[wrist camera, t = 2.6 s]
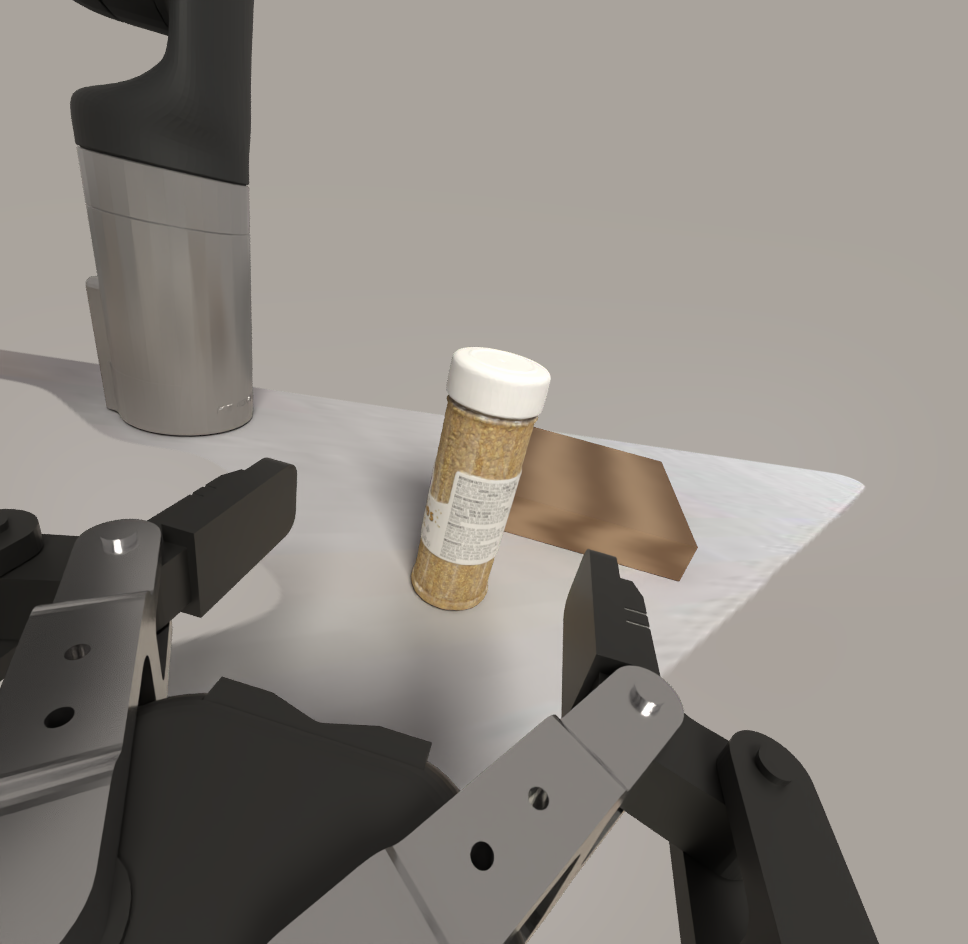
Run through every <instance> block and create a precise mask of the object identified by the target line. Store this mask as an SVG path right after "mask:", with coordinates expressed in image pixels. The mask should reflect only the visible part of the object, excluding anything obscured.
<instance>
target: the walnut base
mask: <svg viewBox="0 0 968 944" xmlns="http://www.w3.org/2000/svg"><path fill="white" fill-rule="evenodd" d="M504 531H505V532H509V533H512V534H516V535H519V536H523V537H526V538H530V539H533V540H537V541H540V542H544V543H547V544H551V545H554V546H558V547H561V548H565V549H568V550H572V551H575V552H579V553H582V554H584V553H585V552H586V550H587V549H590V550H594V551H597V552H601V553H605V554H608V555H612V556H615V557H616V558H617V562H618V564H620V565H624V566H627V567H631V568H634V569H638V570H641V571H645V572H648V573H652V574H655V575H659V576H662V577H666V578H669V579H673V580H676V581H680V579H681V577H682V575H683V574H684V572H685V570H686V568H687V566H688V564H689V562H690V561H691V559H692V557H693V555H694V553H695V551H696V550H697V548H698V547H697V545H696V542H695V540H694V538H693V535H692V533H691V530H690V528H689V526H688V523H687V521H686V519H685V516H684V514H683V512H682V509H681V507H680V505H679V502H678V500H677V497H676V495H675V493H674V490H673V488H672V486H671V483H670V481H669V479H668V476H667V474H666V471H665V469H664V467H663V464H662V462H660V461H657V460H653V459H649V458H646V457H642V456H638V455H635V454H631V453H627V452H624V451H620V450H616V449H613V448H609V447H605V446H602V445H598V444H594V443H591V442H587V441H583V440H580V439H576V438H572V437H569V436H565V435H561V434H558V433H554V432H550V431H547V430H543V429H539V428H536V427H533V431H532V434H531V437H530V440H529V443H528V447H527V450H526V454H525V458H524V461H523V464H522V472H521V476H520V479H519V482H518V486H517V489H516V493H515V496H514V499H513V503H512V506H511V509H510V513H509V516H508V519H507V523H506V526H505V529H504Z"/></svg>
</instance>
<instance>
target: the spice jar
mask: <svg viewBox="0 0 968 944" xmlns="http://www.w3.org/2000/svg"><path fill="white" fill-rule="evenodd" d="M550 381H551V378H550V374H549V372H548V371H547V370H546V369H545V368H544V367H542V366H541V365H539V364H538V363H536V362H534V361H532V360H530V359H528V358H525V357H522V356H519V355H516V354H513V353H510V352H505V351H501V350H496V349H490V348H482V347H468V348H462V349H459V350H457V351H456V352H455V353H454V354H453V357H452V361H451V365H450V370H449V375H448V380H447V387H446V388H447V389H446V390H447V392H448V394H449V395H448V396H447V401H448V404H447V409H446V412H445V419H444V423H443V429H442V433H441V438H440V443H439V447H438V453H437V457H436V460H435V463H434V467H433V473H432V478H431V483H430V488H429V493H428V498H427V503H426V508H425V513H424V518H423V523H422V528H421V540H420V544H419V550H418V556H417V559H416V564H415V565H414V567H413V570H412V575H411V580H412V584H413V587H414V589H415V591H416V593H417V594H418V595H419V596H420V597H421V598H422V599H423V600H424V601H426V602H427V603H429V604H431V605H433V606H436V607H438V608H441V609H446V610H465V609H469V608H473V607H474V606H476V605H477V604H479V603H480V602H481V601H482V600H483V599H484V597H485V595H486V593H487V589H488V577H489V574H490V571H491V568H492V564H493V561H494V557H495V555H496V554H497V552H498V549H499V546H500V542H501V539H502V536H503V532H504V529H505V526H506V523H507V519H508V516H509V513H510V509H511V506H512V503H513V499H514V496H515V493H516V489H517V486H518V482H519V479H520V476H521V472H522V464H523V461H524V458H525V454H526V450H527V447H528V443H529V440H530V437H531V434H532V431H533V426H534V423H535V422H536V421H537V419H538V415H539V414H540V413H541V412H542V409H543V406H544V403H545V400H546V396H547V392H548V389H549V384H550Z"/></svg>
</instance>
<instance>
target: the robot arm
mask: <svg viewBox="0 0 968 944" xmlns="http://www.w3.org/2000/svg"><path fill="white" fill-rule="evenodd" d="M74 1H75V2H77V3H79V4H80V5H82V6H84V7H86V8H88V9H90V10H92V11H94V12H96V13H98V14H101V15H104V16H106V17H109V18H112V19H115V20H117V21H121V22H125V23H127V24H130V25H133V26H137V27H140V28H144V29H147V30H150V31H154V32H157V33H160V34H164V35H167V36H168V42H167V48H166V52H165V55H164V57H163V59H162V60H161V61H160V62H159V63H158V64H157V65H156V66H154V67H153V68H152V69H150V70H149V71H147V72H145V73H144V74H142V75H140V76H138V77H135V78H133V79H130V80H127V81H123V82H118V83H112V84H106V85H96V86H90V87H84V88H81V89H79V90H77V91H75V92H74V93H73V95H72V97H71V102H70V109H71V119H72V125H73V130H74V136H75V143H76V144H77V145H79V146H80V147H77V153H78V159H79V165H80V171H81V178H82V184H83V190H84V196H85V202H86V207H87V213H88V220H89V226H90V232H91V239H92V245H93V251H94V257H95V263H96V270H97V276H92V277H89V278H88V279H87V280H86V290H87V295H88V301H89V307H90V313H91V319H92V324H93V331H94V336H95V342H96V348H97V353H98V359H99V365H100V371H101V377H102V382H103V388H104V394H105V400H106V405H107V408H109V409H112V410H115V411H117V412H118V413H119V414H120V416H121V418H122V419H123V420H124V421H125V422H127V423H128V424H130V425H132V426H134V427H136V428H139V429H143V430H146V431H150V432H155V433H161V434H170V435H206V434H214V433H220V432H225V431H228V430H232V429H235V428H237V427H240V426H242V425H244V424H245V423H247V422H248V421H249V420H250V419H251V417H252V414H253V392H252V324H251V266H250V214H249V213H250V212H249V187H248V186H246V185H248V184H249V149H250V133H251V56H252V55H251V54H252V32H253V7H254V0H74ZM296 488H297V470H296V467H295V466H294V465H292V464H288V463H285V462H281V461H278V460H274V459H271V458H263V459H261V460H260V461H258V462H257V463H255V464H254V465H252V466H251V467H249V468H247V469H246V470H242V469H241V470H238V471H234V472H231V473H228V474H224V475H221V476H220V477H218V478H216V479H214V480H213V481H211V482H209V483H208V484H206V486H205V487H201V488H200V489H198V490H196V491H195V492H193V494H192V495H188V496H187V497H185V498H183V499H182V500H180V501H178V502H177V503H175V504H174V505H172V506H170V507H169V508H167V509H165V510H164V511H162V512H161V513H159V514H157V515H156V516H154V517H152V518H151V519H149V520H147V521H145V520H139V519H121V520H115V521H109V522H106V523H102V524H99V525H96V526H94V527H92V528H90V529H88V530H86V531H85V532H83V533H82V534H81V535H80V536H66V535H50V534H41V530H40V526H39V522H38V519H37V517H36V516H35V515H33V514H32V513H30V512H26V511H23V510H15V509H0V681H1V680H3V679H4V680H3V682H2V685H1V687H0V944H526V943H527V942H528V941H529V940H530V938H531V937H532V936H533V934H534V933H535V932H536V930H537V929H538V928H539V926H540V925H541V924H542V922H543V921H544V920H545V918H546V917H547V916H548V914H549V913H550V912H551V910H552V909H553V907H554V906H555V904H556V903H557V902H558V900H559V899H560V898H561V896H562V895H563V893H564V892H565V890H566V889H567V887H568V886H569V884H570V883H571V882H572V880H573V879H574V878H575V876H576V875H577V874H578V872H579V871H580V870H581V868H582V867H583V866H584V864H585V863H586V862H587V861H588V859H589V858H590V857H591V855H592V854H593V853H594V851H595V850H596V849H597V847H598V846H599V845H600V843H601V842H602V841H603V839H604V838H605V837H606V835H607V834H608V833H609V831H610V830H611V829H612V827H613V826H614V825H615V824H616V822H617V821H618V820H619V818H620V817H621V816H622V815H623V813H624V812H625V811H626V812H627V813H628V814H630V815H631V816H633V817H634V818H636V819H637V820H639V821H640V822H642V823H643V824H644V825H646V826H647V827H649V828H650V829H652V830H653V831H655V832H656V833H658V834H659V835H660V836H662V837H663V838H665V839H666V840H668V841H669V844H670V854H671V862H672V870H673V879H674V887H675V895H676V904H677V913H678V921H679V930H680V938H681V944H879V943H878V941H877V938H876V935H875V933H874V930H873V928H872V925H871V923H870V921H869V918H868V916H867V914H866V911H865V908H864V906H863V904H862V901H861V899H860V896H859V894H858V891H857V889H856V887H855V884H854V882H853V879H852V877H851V874H850V872H849V870H848V867H847V865H846V862H845V860H844V858H843V855H842V853H841V850H840V848H839V845H838V843H837V840H836V838H835V835H834V833H833V831H832V828H831V826H830V824H829V821H828V819H827V816H826V814H825V811H824V809H823V806H822V804H821V802H820V799H819V797H818V794H817V792H816V790H815V787H814V785H813V782H812V780H811V778H810V776H809V775H808V773H807V771H806V770H805V769H804V767H803V766H802V765H801V763H800V762H799V761H798V760H797V759H796V758H795V757H794V756H793V755H792V754H791V753H790V752H789V751H788V750H787V749H786V748H784V747H783V746H782V745H781V744H779V743H778V742H776V741H775V740H773V739H772V738H770V737H768V736H766V735H764V734H761V733H759V732H755V731H750V730H743V731H739V732H737V733H735V734H734V735H733V736H732V738H731V739H730V740H729V741H728V740H726V739H724V738H723V737H721V736H719V735H718V734H716V733H714V732H713V731H711V730H709V729H707V728H705V727H704V726H702V725H700V724H699V723H697V722H696V721H694V720H693V719H691V718H690V717H688V716H687V715H686V714H685V713H684V710H683V705H682V703H681V700H680V698H679V697H678V695H677V693H676V692H675V691H674V689H673V688H672V687H671V686H670V685H669V684H668V683H667V682H666V681H665V680H664V679H663V678H661V677H660V673H659V668H658V663H657V659H656V654H655V650H654V645H653V640H652V636H651V631H650V629H649V622H648V617H647V616H646V613H647V612H646V608H645V603H644V599H643V596H642V595H641V593H640V592H639V590H638V589H637V588H636V586H635V585H634V583H633V582H632V581H629V580H625V579H622V578H620V575H619V568H618V562H617V558H616V557H615V556H612V555H608V554H605V553H601V552H597V551H594V550H590V549H587V550H586V552H585V553H584V556H583V558H582V561H581V563H580V566H579V568H578V571H577V573H576V576H575V578H574V581H573V584H572V586H571V589H570V591H569V594H568V597H567V600H566V605H565V610H564V618H563V667H562V717H561V719H559V718H558V717H557V716H556V715H551V716H549V717H548V718H546V719H545V720H544V721H542V722H541V723H540V724H539V725H538V726H536V727H535V728H534V729H533V730H532V731H531V732H529V733H528V734H527V735H526V736H525V737H523V738H522V739H521V740H520V741H519V742H518V743H516V744H515V745H514V746H513V747H512V748H510V749H509V750H508V751H507V752H506V753H505V754H503V755H502V756H501V757H500V758H499V759H498V760H496V761H495V762H494V763H493V764H492V765H490V766H489V767H488V768H487V769H486V770H485V771H483V772H482V773H481V774H480V775H479V776H478V777H476V778H475V779H474V780H473V781H472V782H470V783H469V784H468V785H467V786H466V787H465V788H463V789H462V790H461V791H460V790H459V789H458V788H457V787H456V785H455V784H454V783H453V782H452V781H451V780H450V779H449V778H448V777H447V776H446V775H445V774H444V773H443V772H441V771H440V770H439V769H438V768H437V767H435V766H434V765H432V764H431V763H429V762H428V761H427V759H428V755H429V751H430V748H431V744H432V743H431V742H428V741H425V740H422V739H419V738H415V737H412V736H409V735H406V734H403V733H400V732H396V731H393V730H390V729H387V728H384V727H380V726H368V725H349V724H330V723H320V722H317V721H315V720H313V719H311V718H310V717H308V716H307V715H305V714H304V713H302V712H301V711H299V710H298V709H296V708H295V707H293V706H292V705H290V704H289V703H287V702H286V701H284V700H283V699H281V698H280V697H278V696H277V695H275V694H274V693H272V692H269V691H266V690H263V689H260V688H257V687H253V686H250V685H247V684H244V683H241V682H237V681H234V680H231V679H228V678H225V677H221V678H220V679H219V681H218V682H217V683H216V684H215V685H214V687H213V688H212V689H211V690H210V691H209V693H196V694H185V695H178V696H172V697H168V698H167V690H168V677H169V665H170V653H171V641H172V619H173V618H174V617H175V616H176V615H177V614H178V613H180V612H183V613H187V614H190V615H193V616H197V617H200V618H201V617H202V616H203V615H204V614H206V613H207V611H209V609H211V608H212V607H213V606H214V605H215V604H216V603H217V602H218V601H219V600H220V599H221V598H222V597H223V596H224V595H225V594H226V593H227V592H228V591H229V590H230V589H231V588H233V587H234V586H235V585H236V584H237V582H239V581H240V580H241V579H242V578H243V577H244V576H245V575H246V574H247V573H248V572H249V571H250V570H251V569H252V568H253V567H254V566H255V565H256V564H257V563H258V562H259V561H260V560H262V559H263V558H264V557H265V556H266V555H267V554H268V553H269V552H270V551H271V550H272V549H273V548H274V547H275V546H276V545H277V544H278V543H279V542H280V541H281V540H282V539H283V538H284V537H285V536H286V535H287V534H288V533H289V531H290V529H291V527H292V525H293V523H294V519H295V514H296Z"/></svg>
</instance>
